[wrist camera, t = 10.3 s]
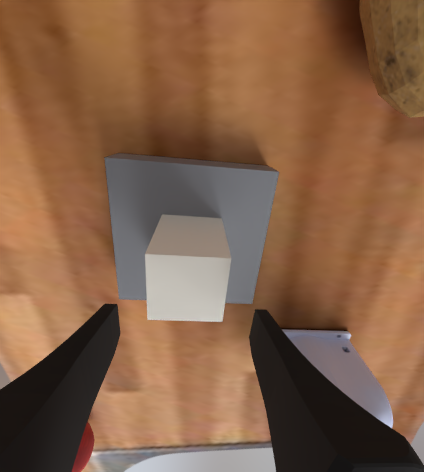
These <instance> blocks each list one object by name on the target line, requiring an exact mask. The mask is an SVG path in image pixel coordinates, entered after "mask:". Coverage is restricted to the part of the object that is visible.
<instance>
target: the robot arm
mask: <svg viewBox="0 0 424 472" xmlns="http://www.w3.org/2000/svg"><path fill="white" fill-rule="evenodd" d="M119 337H120V325H119V315H118V306H117V304H104V305H103V306H102V307H101V308H100V309H99V310H98V311H97V312H96V313H95V314H94V315H93V316H92V317H91V318H90V319H89V320H88V321H87V322H85V323H84V324H83V325H82V326H81V327H80V328H79V329H78V330H77V331H76V332H75V333H74V334H73V335H71V336H70V337H69V338H68V339H67V340H66V341H65V342H63V343H62V344H61V345H60V346H59V347H58V348H56V349H55V350H54V351H53V352H52V353H50V354H49V355H48V356H47V357H45V358H44V359H43V360H42V361H40V362H39V363H38V364H36V365H35V366H34V367H32V368H31V369H30V370H28V371H27V372H26V373H24V374H23V375H21V376H20V377H18V378H17V379H15V380H14V381H12V382H11V383H9V384H8V385H6V386H5V387H3V388H2V389H0V472H72V469H73V465H74V462H75V459H76V456H77V452H78V449H79V446H80V443H81V439H82V436H83V433H84V430H85V427H86V424H87V421H88V418H89V415H90V412H91V409H92V407H93V404H94V401H95V399H96V397H97V394H98V392H99V389H100V387H101V385H102V382H103V380H104V378H105V375H106V373H107V371H108V368H109V366H110V363H111V361H112V358H113V356H114V354H115V350H116V347H117V344H118V340H119ZM350 337H351V334H350V333H349V332H348V331H324V330H286V329H281V328H280V327H279V325H278V324H277V323H276V322H275V320H274V319H273V318H272V316H271V315H270V314H269V312H268V311H267V310H256V309H255V313H254V318H253V322H252V327H251V331H250V336H249V339H250V346H251V353H252V358H253V362H254V366H255V370H256V374H257V377H258V381H259V385H260V388H261V392H262V396H263V400H264V404H265V408H266V412H267V418H268V424H269V429H270V435H271V441H272V447H273V453H274V459H275V466H276V472H424V465H423V463H422V462H421V460H420V459H419V457H418V456H417V454H416V452H415V451H414V449H413V448H412V447H411V445H410V444H409V442H408V441H407V440H406V438H405V437H404V436H402V435H401V434H399V433H398V432H396V431H395V430H393V429H392V425H393V416H392V411H391V407H390V404H389V401H388V398H387V396H386V394H385V392H384V390H383V388H382V387H381V385H380V384H379V382H378V381H377V379H376V378H375V377H374V375H373V374H372V372H371V371H370V369H369V368H368V367H367V365H366V364H365V362H364V361H363V359H362V358H361V357H360V355H359V354H358V352H357V351H356V349H355V348H354V347H353V345H352V344H351V342H350V341H349V339H350Z"/></svg>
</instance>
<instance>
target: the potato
mask: <svg viewBox="0 0 424 472" xmlns="http://www.w3.org/2000/svg"><path fill="white" fill-rule="evenodd" d="M359 13H360V18H361V23H362V28H363V34H364V39H365V44H366V51H367V57H368V64H369V70H370V73H371V76H372V78H373V81H374V84H375V87H376V89H377V92H378V95H379V96H381V97H382V98H383V99H384V100H385V101H386V102H388V103H389V104H390V105H391V106H392V107H393V108H394V109H396V110H397V111H399V112H400V113H402V114H404V115H406V116H407V117H409V118H410V117H423V116H424V0H360V6H359Z"/></svg>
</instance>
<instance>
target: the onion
mask: <svg viewBox="0 0 424 472" xmlns="http://www.w3.org/2000/svg"><path fill="white" fill-rule="evenodd" d="M93 446H94V435H93V431H92V429H91V426H90V424H89V423H88V422H87V424H86V427H85V430H84V433H83V436H82V439H81V443H80V446H79V449H78V452H77V456H76V459H75V462H74V465H73V469H72V472H81V471H82V470H83V469H84V468H85V466H86V464H87V463H88V461H89V459H90V456H91V454H92V451H93Z"/></svg>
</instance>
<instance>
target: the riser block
mask: <svg viewBox="0 0 424 472" xmlns="http://www.w3.org/2000/svg"><path fill="white" fill-rule="evenodd" d="M105 167H106V177H107V186H108V196H109V206H110V215H111V225H112V235H113V244H114V254H115V264H116V273H117V283H118V293H119V299H127V300H147V293H146V267H145V253H146V250H147V248H148V246H149V244H150V241H151V239H152V237H153V234H154V232H155V230H156V227H157V225H158V223H159V220H160V218H161V216H162V214H164V215H180V216H195V217H210V218H222V222H223V226H224V230H225V234H226V238H227V242H228V246H229V251H230V255H231V265H230V272H229V279H228V286H227V293H226V300H225V303H240V304H252V302H253V297H254V292H255V287H256V283H257V278H258V273H259V268H260V263H261V258H262V253H263V248H264V243H265V239H266V234H267V229H268V224H269V219H270V214H271V209H272V204H273V199H274V195H275V190H276V185H277V180H278V175H279V172H278V171H277V170H275V169H273V168H271V167H269V166H266V165H254V164H243V163H231V162H219V161H207V160H195V159H184V158H172V157H160V156H148V155H137V154H125V153H117V154H114V155H111V156H108V157H105Z"/></svg>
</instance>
